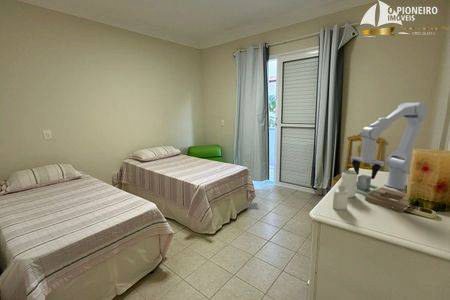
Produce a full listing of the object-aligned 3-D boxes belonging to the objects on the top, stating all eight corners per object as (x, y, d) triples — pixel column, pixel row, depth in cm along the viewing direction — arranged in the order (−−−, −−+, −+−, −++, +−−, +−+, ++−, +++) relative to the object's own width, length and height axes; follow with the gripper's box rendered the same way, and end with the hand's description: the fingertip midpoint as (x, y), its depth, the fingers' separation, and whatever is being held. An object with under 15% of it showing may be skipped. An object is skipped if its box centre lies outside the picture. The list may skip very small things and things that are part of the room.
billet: (361, 186, 111) (362, 174, 110) (369, 189, 108) (371, 176, 107) (356, 189, 109) (358, 176, 107) (365, 191, 105) (366, 178, 104)
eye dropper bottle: (348, 211, 86) (351, 184, 84) (333, 209, 88) (335, 183, 86) (346, 206, 90) (349, 180, 88) (331, 205, 92) (334, 179, 90)
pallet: (381, 190, 106) (382, 187, 105) (417, 200, 94) (418, 196, 94) (364, 200, 96) (365, 196, 96) (402, 212, 85) (403, 207, 84)
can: (357, 198, 98) (360, 174, 96) (342, 197, 99) (344, 173, 97) (351, 192, 104) (354, 170, 102) (337, 192, 106) (340, 169, 103)
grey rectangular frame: (358, 183, 116) (358, 181, 116) (380, 189, 108) (381, 187, 107) (345, 188, 109) (345, 186, 109) (368, 195, 100) (368, 193, 100)
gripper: (348, 149, 108) (346, 174, 111) (381, 154, 96) (377, 182, 99) (355, 147, 112) (352, 171, 115) (387, 152, 100) (383, 179, 103)
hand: (364, 176), depth 107 cm, fingers open, 7 cm apart
